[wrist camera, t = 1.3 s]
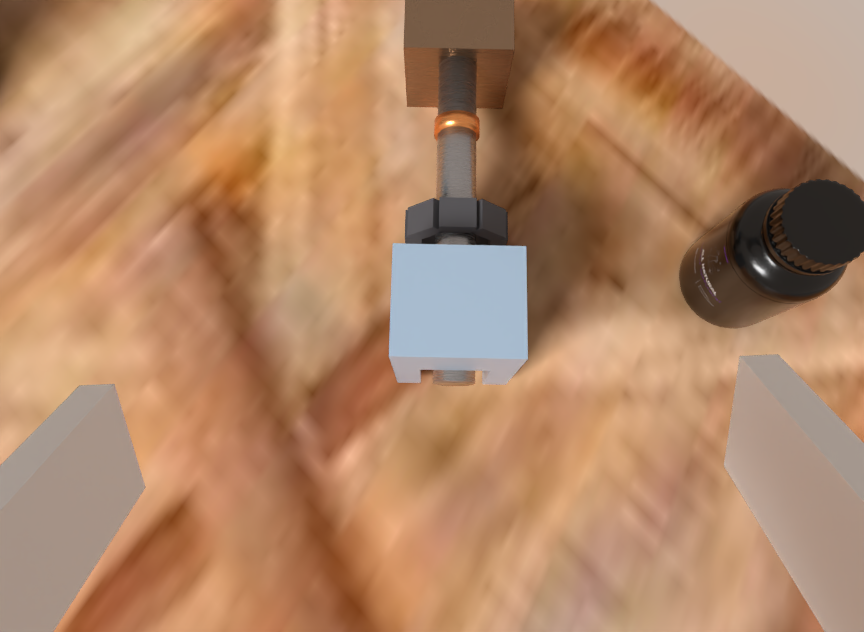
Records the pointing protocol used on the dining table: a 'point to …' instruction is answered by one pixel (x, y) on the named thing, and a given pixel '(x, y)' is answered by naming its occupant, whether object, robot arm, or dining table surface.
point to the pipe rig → (457, 93)
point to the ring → (456, 220)
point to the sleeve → (458, 310)
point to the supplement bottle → (773, 253)
